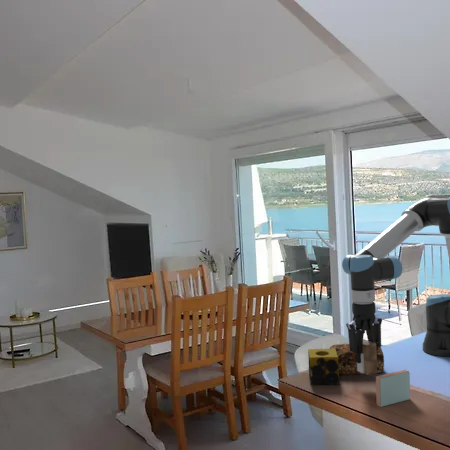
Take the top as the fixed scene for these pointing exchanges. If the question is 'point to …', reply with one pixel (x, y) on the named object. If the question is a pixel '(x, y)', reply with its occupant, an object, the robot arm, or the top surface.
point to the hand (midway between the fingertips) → (366, 370)
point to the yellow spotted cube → (323, 367)
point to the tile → (392, 388)
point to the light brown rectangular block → (369, 357)
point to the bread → (353, 360)
